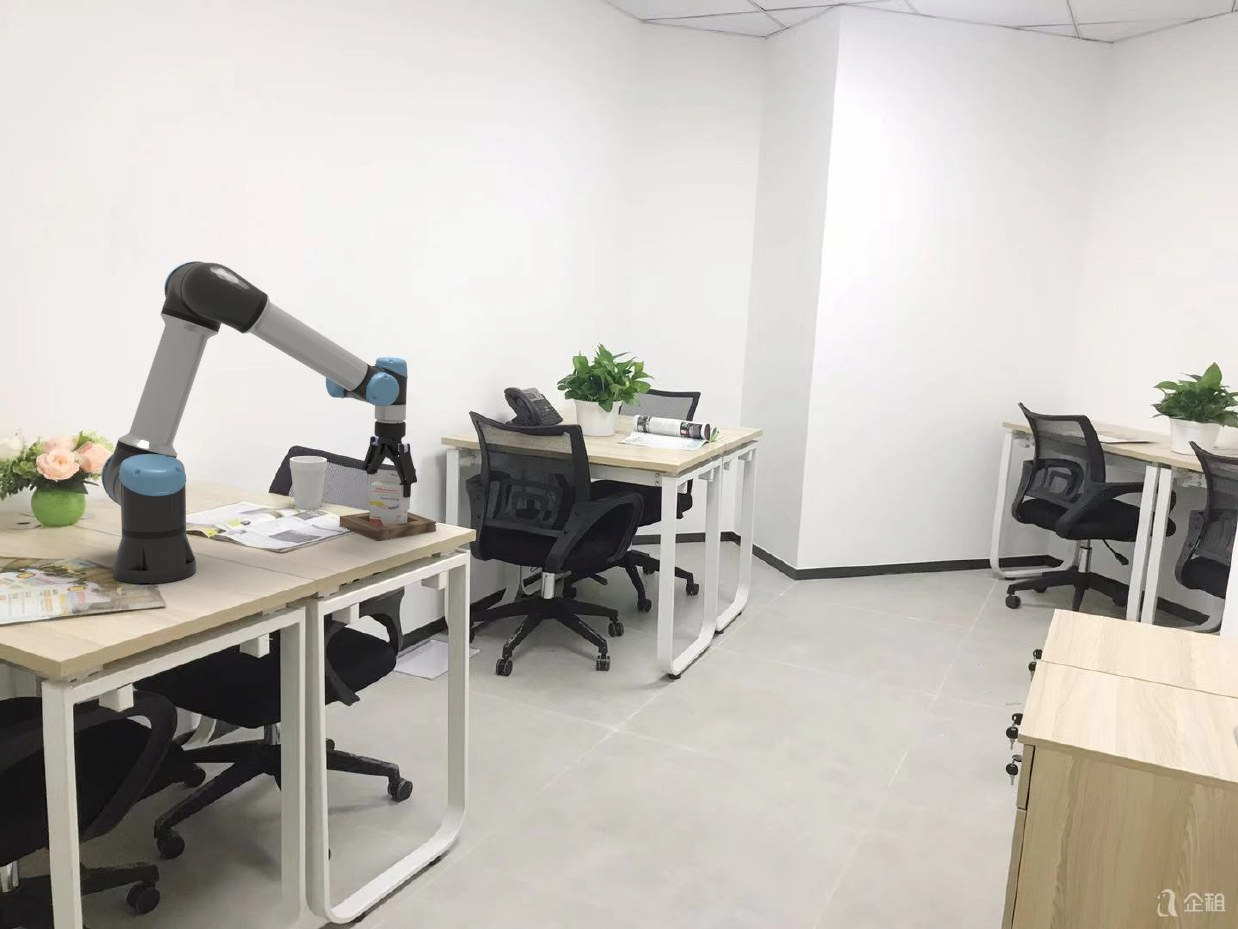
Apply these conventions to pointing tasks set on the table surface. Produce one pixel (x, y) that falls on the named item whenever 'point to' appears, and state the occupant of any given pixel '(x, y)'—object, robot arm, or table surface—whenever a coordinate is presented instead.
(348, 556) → the table surface
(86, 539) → the table surface
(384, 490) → the ink cartridge box
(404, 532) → the square wooden frame
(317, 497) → the foam cup
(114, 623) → the table surface
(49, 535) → the table surface
